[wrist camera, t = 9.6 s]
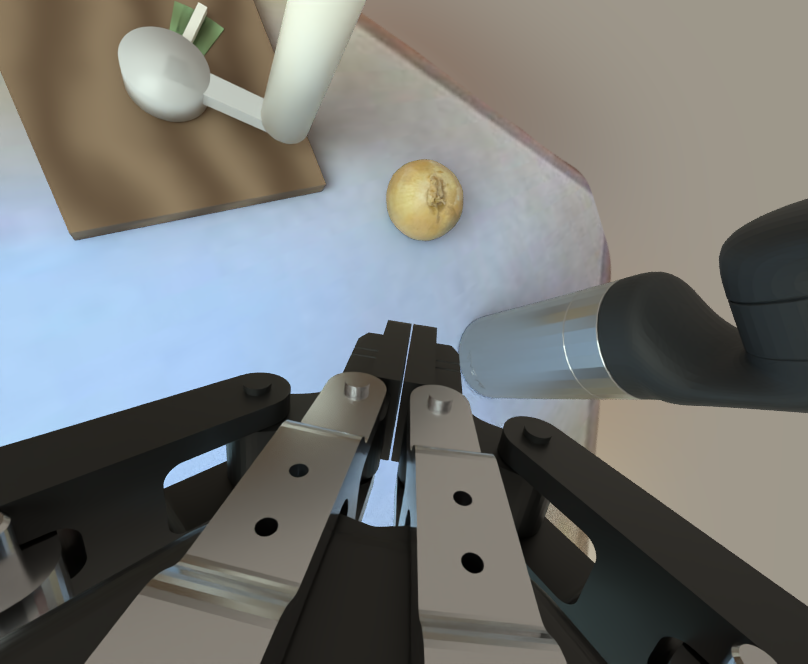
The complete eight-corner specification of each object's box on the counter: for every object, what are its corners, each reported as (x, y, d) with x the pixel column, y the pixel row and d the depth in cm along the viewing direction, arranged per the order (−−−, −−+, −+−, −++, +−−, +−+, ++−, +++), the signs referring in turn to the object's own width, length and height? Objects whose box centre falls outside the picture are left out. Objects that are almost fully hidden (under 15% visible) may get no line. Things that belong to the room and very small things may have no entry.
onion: (375, 169, 43) (406, 131, 37) (440, 182, 47) (478, 149, 40) (379, 243, 42) (412, 217, 36) (445, 251, 46) (485, 228, 39)
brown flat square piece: (242, -9, 39) (244, -25, 37) (321, 191, 40) (326, 183, 38) (-37, -23, 29) (-49, -44, 28) (74, 240, 30) (69, 232, 29)
